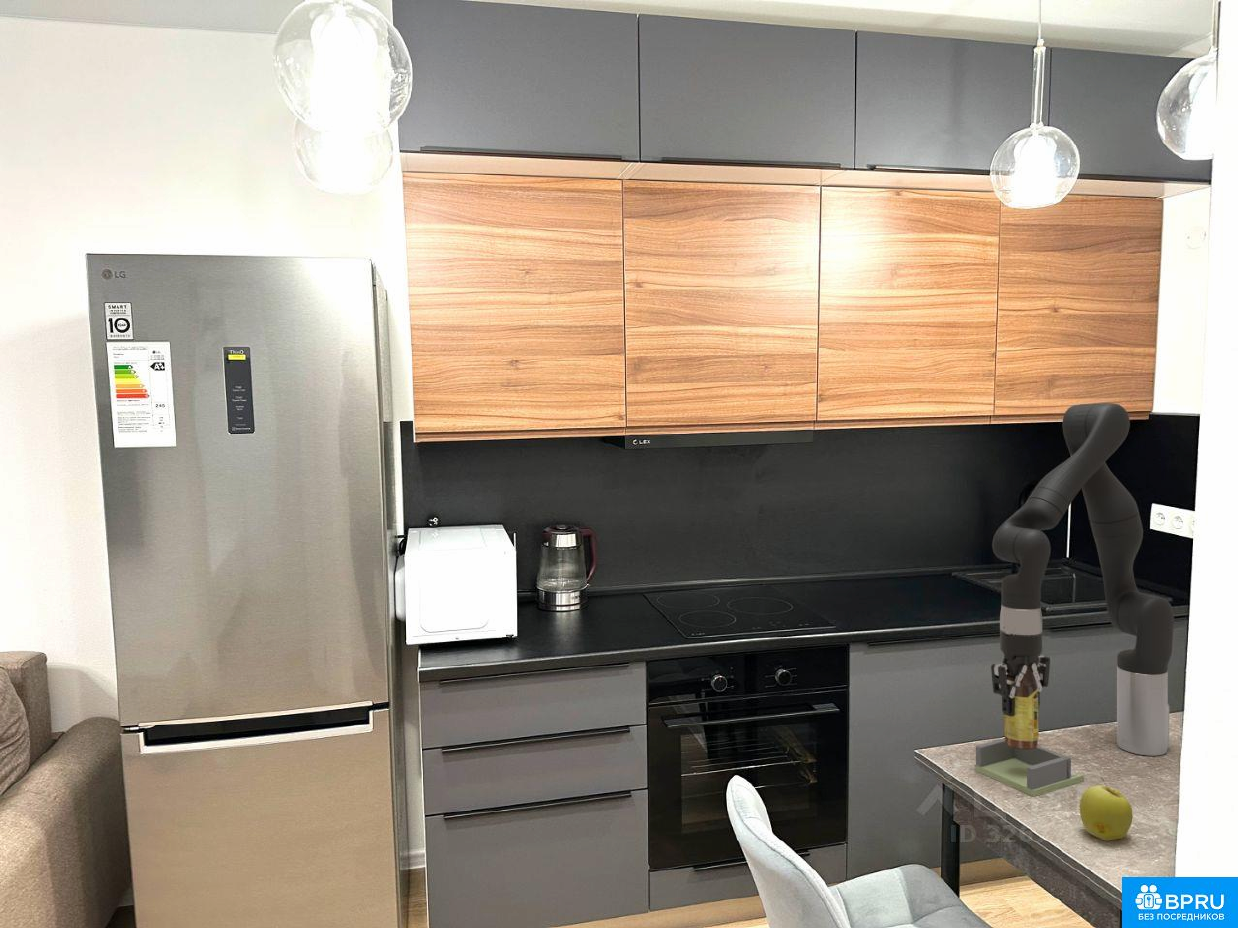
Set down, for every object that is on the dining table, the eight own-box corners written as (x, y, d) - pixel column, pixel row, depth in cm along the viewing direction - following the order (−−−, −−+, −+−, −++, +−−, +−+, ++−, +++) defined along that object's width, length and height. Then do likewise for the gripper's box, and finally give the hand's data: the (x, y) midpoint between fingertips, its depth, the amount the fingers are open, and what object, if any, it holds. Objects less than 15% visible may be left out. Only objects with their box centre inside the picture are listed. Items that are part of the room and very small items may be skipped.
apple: (1069, 832, 150) (1076, 772, 151) (1085, 830, 155) (1091, 772, 157) (1121, 848, 144) (1127, 785, 146) (1135, 845, 150) (1141, 785, 151)
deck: (1023, 756, 185) (1023, 732, 184) (1083, 781, 172) (1083, 755, 172) (974, 770, 179) (974, 745, 178) (1033, 796, 166) (1033, 769, 166)
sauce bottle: (1042, 752, 170) (1042, 651, 169) (1007, 750, 172) (1007, 650, 170) (1033, 739, 177) (1033, 642, 175) (1000, 738, 178) (1000, 641, 177)
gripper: (1030, 620, 179) (1030, 700, 180) (979, 629, 173) (979, 712, 174) (1062, 627, 172) (1062, 711, 173) (1010, 637, 166) (1010, 724, 167)
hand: (1020, 711), depth 174 cm, fingers closed on sauce bottle, 6 cm apart
